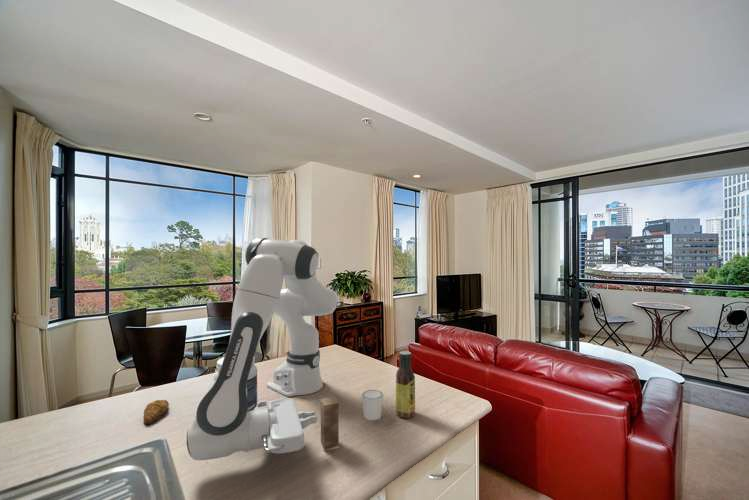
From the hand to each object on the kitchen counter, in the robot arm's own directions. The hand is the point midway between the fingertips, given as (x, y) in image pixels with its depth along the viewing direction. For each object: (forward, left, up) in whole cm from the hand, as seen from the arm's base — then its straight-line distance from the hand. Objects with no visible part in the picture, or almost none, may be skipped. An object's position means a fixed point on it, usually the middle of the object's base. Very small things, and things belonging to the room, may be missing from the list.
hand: (315, 416), depth 83 cm
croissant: (-57, -11, -9) cm, 59 cm away
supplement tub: (-34, +1, -9) cm, 35 cm away
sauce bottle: (+14, +28, -9) cm, 33 cm away
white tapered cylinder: (+5, +22, -9) cm, 24 cm away
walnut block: (+2, +3, -8) cm, 9 cm away
